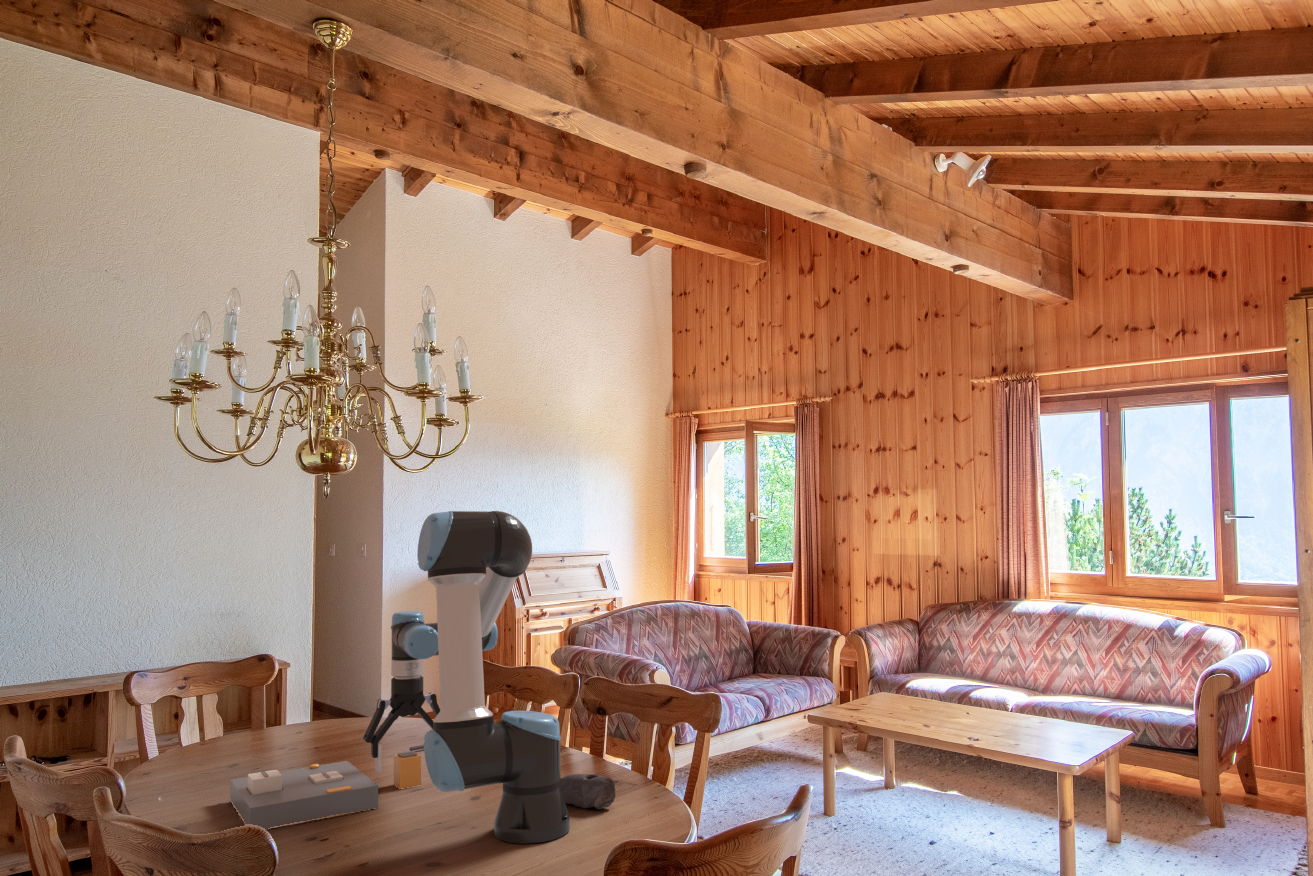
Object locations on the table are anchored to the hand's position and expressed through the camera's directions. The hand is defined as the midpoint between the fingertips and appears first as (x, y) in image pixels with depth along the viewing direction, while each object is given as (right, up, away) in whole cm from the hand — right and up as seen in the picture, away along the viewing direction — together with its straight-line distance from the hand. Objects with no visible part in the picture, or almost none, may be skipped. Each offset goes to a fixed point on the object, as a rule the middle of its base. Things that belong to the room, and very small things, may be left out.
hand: (406, 766), depth 217 cm
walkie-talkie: (+2, -8, +34) cm, 35 cm away
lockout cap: (0, -4, -1) cm, 4 cm away
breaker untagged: (-26, 0, -19) cm, 32 cm away
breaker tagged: (-15, -3, -12) cm, 19 cm away
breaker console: (-19, -3, -15) cm, 24 cm away
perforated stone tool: (+44, -2, -20) cm, 48 cm away
